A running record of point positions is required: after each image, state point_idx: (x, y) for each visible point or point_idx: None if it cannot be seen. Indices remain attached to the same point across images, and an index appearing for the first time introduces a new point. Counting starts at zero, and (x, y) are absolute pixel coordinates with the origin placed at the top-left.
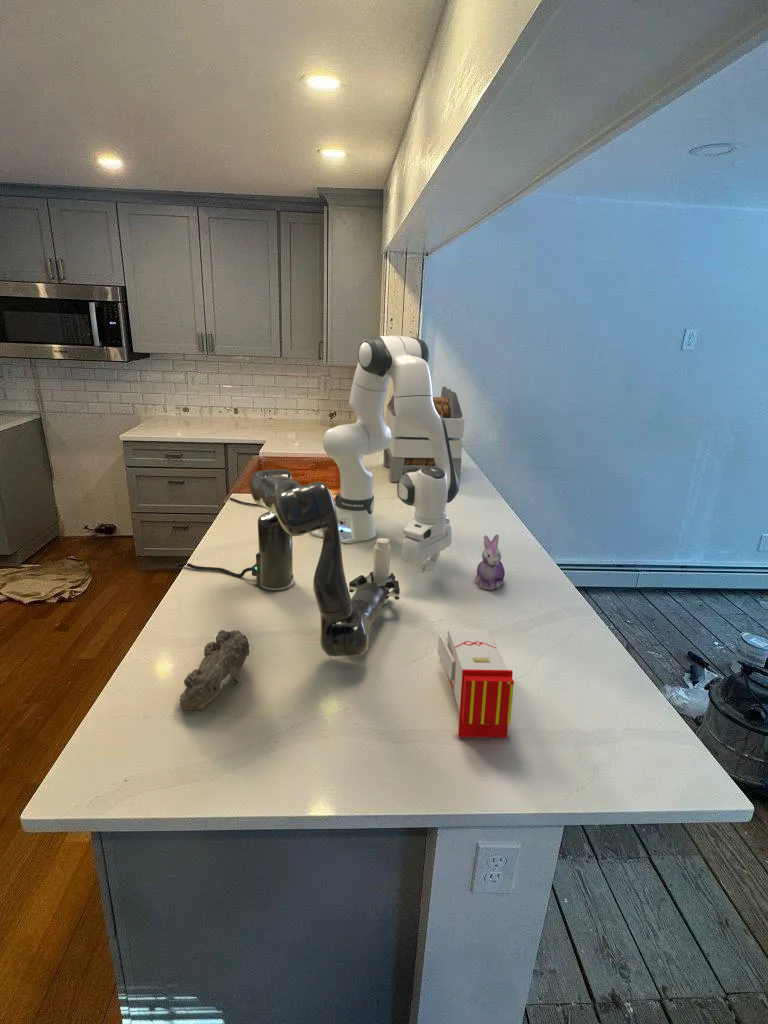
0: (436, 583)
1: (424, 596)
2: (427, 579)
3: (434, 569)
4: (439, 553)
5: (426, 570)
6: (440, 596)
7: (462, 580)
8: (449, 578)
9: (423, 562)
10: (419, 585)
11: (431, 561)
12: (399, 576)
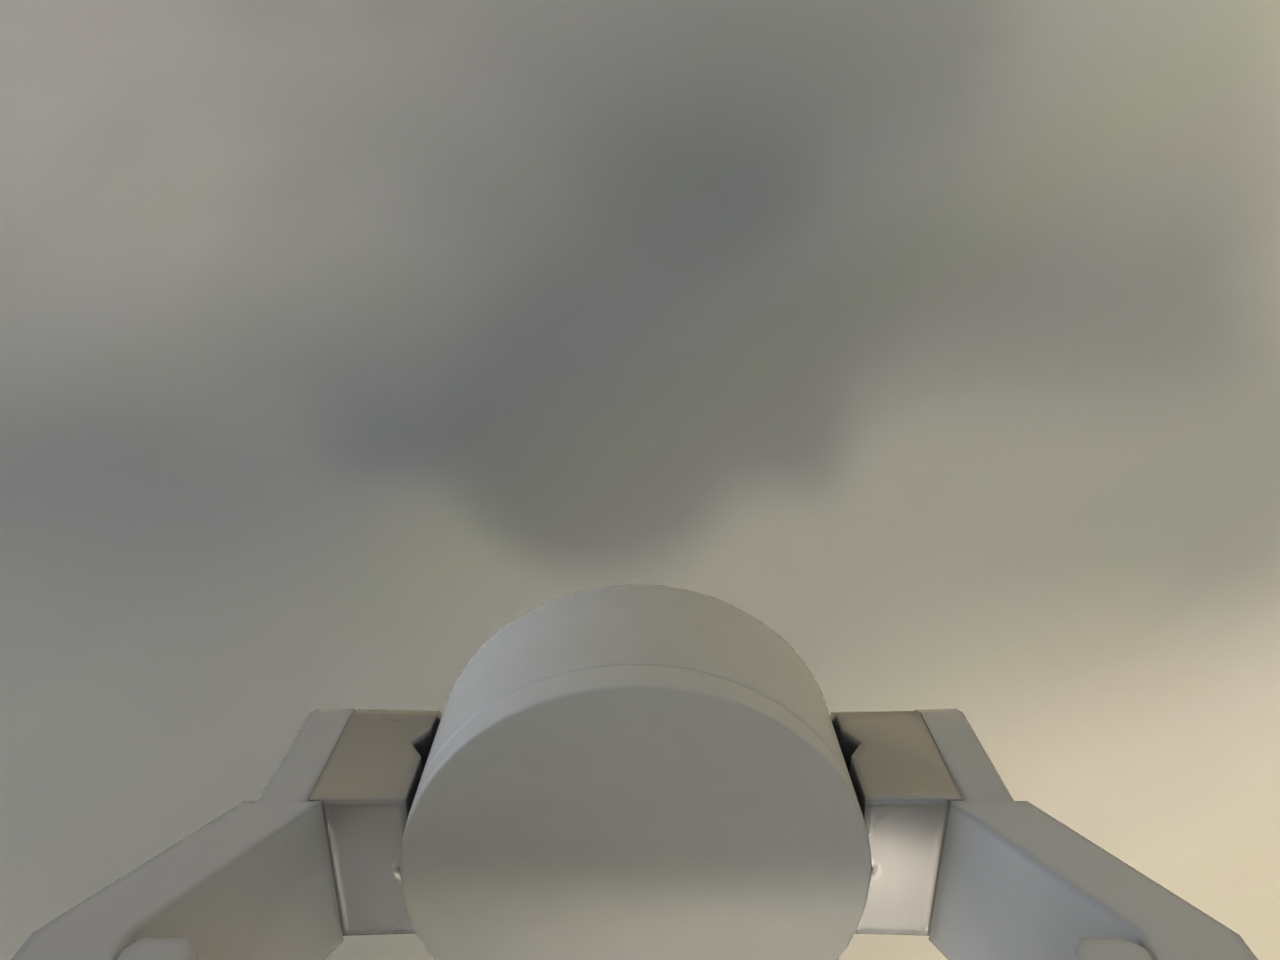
0: (548, 422)
1: (1159, 293)
2: None
3: (586, 598)
4: (22, 955)
5: (817, 695)
6: (978, 42)
7: (17, 96)
8: (181, 355)
9: (716, 947)
10: (826, 591)
11: (490, 845)
12: None
